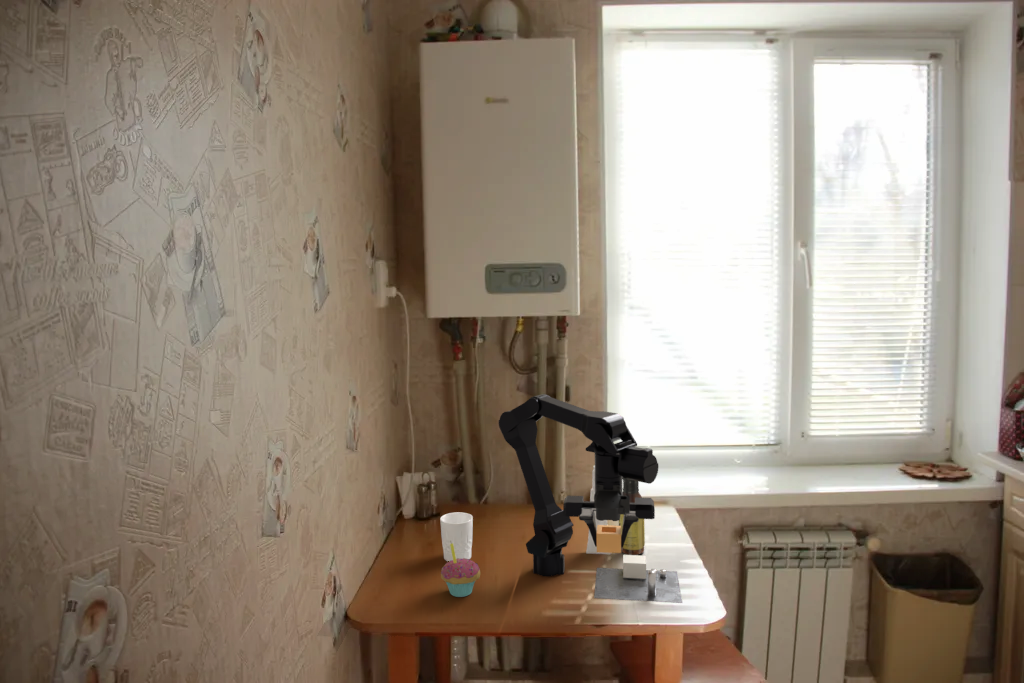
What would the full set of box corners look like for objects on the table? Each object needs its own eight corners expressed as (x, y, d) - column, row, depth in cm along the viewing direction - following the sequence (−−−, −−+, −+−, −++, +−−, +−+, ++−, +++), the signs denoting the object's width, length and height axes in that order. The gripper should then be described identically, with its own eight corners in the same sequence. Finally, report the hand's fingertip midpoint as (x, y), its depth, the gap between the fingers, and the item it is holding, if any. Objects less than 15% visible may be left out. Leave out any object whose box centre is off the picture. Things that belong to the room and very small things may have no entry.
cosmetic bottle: (599, 546, 179) (599, 461, 177) (616, 554, 174) (615, 466, 172) (581, 552, 176) (580, 465, 173) (597, 560, 171) (596, 471, 168)
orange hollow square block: (596, 552, 148) (596, 533, 148) (597, 542, 153) (597, 524, 153) (621, 553, 148) (620, 534, 147) (621, 543, 153) (621, 525, 152)
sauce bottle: (627, 544, 180) (627, 467, 178) (649, 550, 176) (649, 472, 174) (613, 552, 175) (613, 474, 173) (636, 559, 171) (636, 478, 169)
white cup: (459, 548, 180) (458, 509, 179) (480, 557, 174) (479, 517, 173) (434, 557, 174) (433, 518, 173) (455, 567, 169) (454, 526, 168)
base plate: (594, 603, 149) (593, 574, 149) (596, 572, 164) (596, 546, 163) (682, 608, 146) (682, 579, 146) (677, 576, 161) (677, 550, 160)
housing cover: (623, 577, 158) (623, 562, 157) (623, 569, 162) (623, 554, 162) (646, 578, 157) (646, 563, 157) (645, 570, 161) (645, 555, 161)
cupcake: (448, 604, 150) (446, 549, 149) (436, 587, 158) (434, 535, 157) (486, 596, 154) (485, 542, 152) (472, 580, 161) (471, 529, 160)
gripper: (560, 484, 142) (561, 560, 144) (655, 487, 139) (655, 564, 141) (565, 469, 153) (566, 539, 155) (653, 471, 150) (653, 542, 152)
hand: (609, 546), depth 150 cm, fingers closed on orange hollow square block, 5 cm apart
